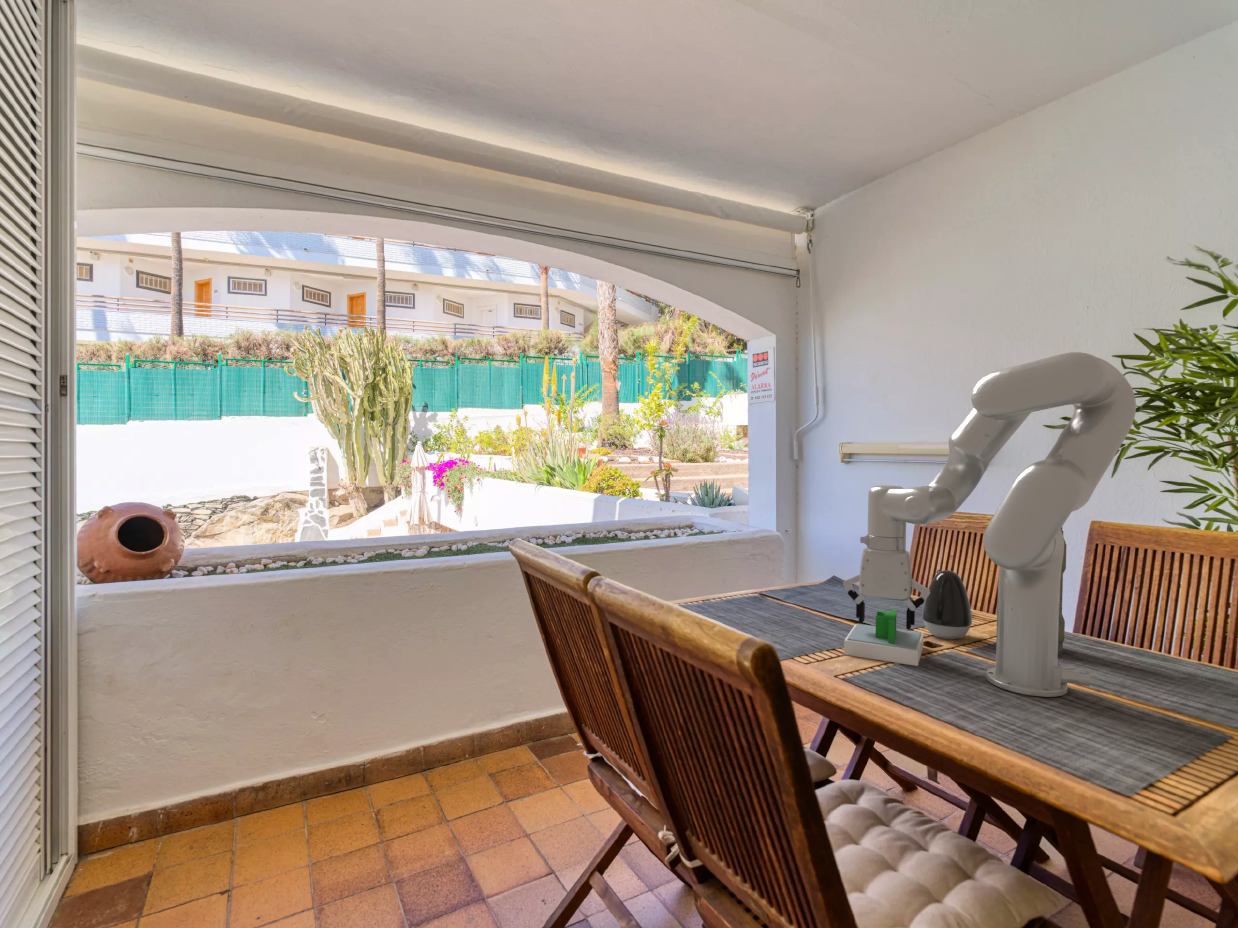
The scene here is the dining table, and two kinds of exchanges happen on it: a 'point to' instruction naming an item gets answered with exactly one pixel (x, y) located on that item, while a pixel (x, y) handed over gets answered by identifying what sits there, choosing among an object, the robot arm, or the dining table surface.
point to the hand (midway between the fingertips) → (884, 624)
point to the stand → (884, 645)
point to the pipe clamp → (886, 625)
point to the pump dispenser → (947, 607)
